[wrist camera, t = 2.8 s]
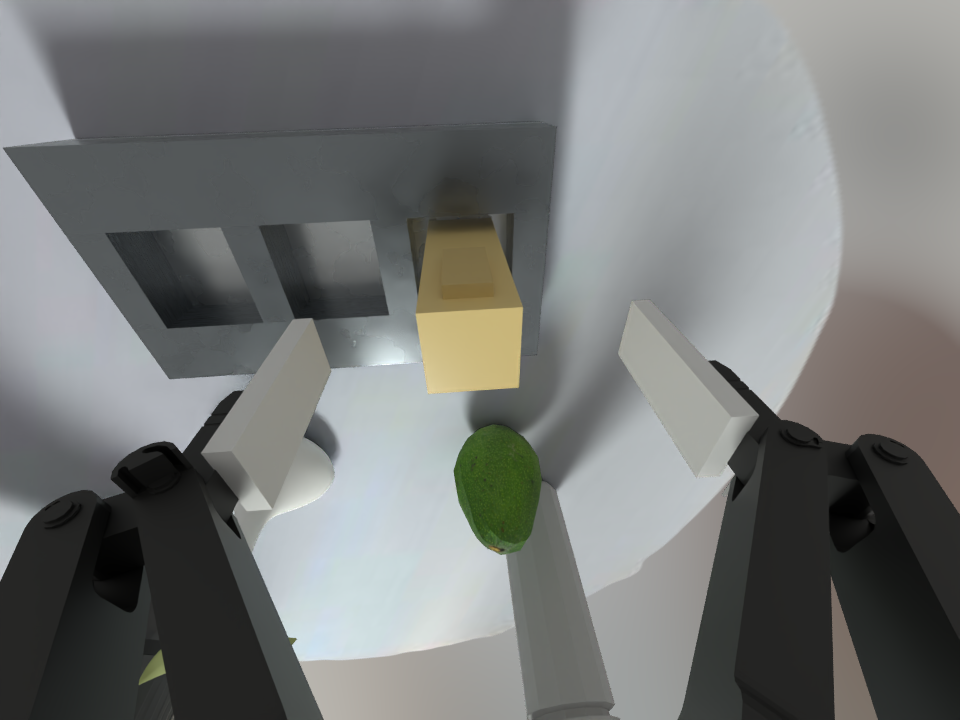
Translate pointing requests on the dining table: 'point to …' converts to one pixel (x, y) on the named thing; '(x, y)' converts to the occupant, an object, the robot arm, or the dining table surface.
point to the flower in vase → (276, 510)
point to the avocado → (498, 487)
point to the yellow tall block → (468, 309)
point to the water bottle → (555, 624)
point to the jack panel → (290, 231)
